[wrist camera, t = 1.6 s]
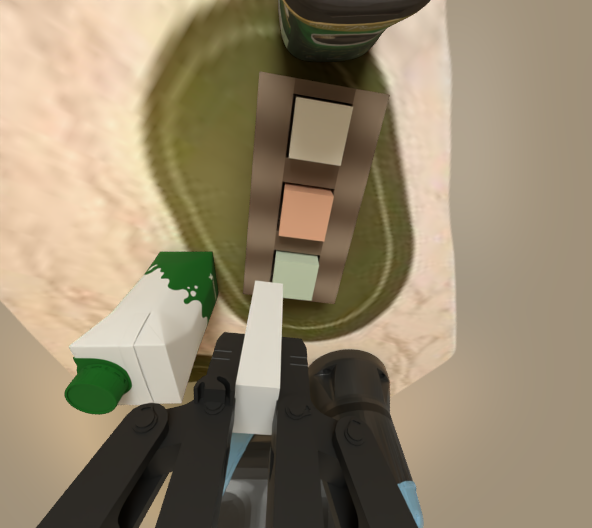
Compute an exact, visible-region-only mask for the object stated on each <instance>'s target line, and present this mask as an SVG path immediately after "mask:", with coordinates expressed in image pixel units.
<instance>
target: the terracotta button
mask: <svg viewBox="0 0 592 528" xmlns="http://www.w3.org/2000/svg"><path fill="white" fill-rule="evenodd" d="M333 199H334V196H333V194H332V192H331V190H330V188H324V187H317V186H310V185H303V184H296V183H289V182H285V186H284V193H283V201H282V209H281V217H280V225H279V236H285V237H292V238H300V239H308V240H316V241H323V242H324V240H325V236H326V231H327V227H328V222H329V217H330V213H331V208H332V203H333Z"/></svg>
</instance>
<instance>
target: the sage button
mask: <svg viewBox="0 0 592 528" xmlns="http://www.w3.org/2000/svg"><path fill="white" fill-rule="evenodd" d="M318 268H319V262H318V257H317V255H313V254H305V253H297V252H289V251H281V250H276V255H275V263H274V271H273V279H272V283H281V284H283V298H290V299H299V300H309V301H312V296H313V291H314V287H315V282H316V278H317V273H318Z"/></svg>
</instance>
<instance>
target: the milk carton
mask: <svg viewBox="0 0 592 528" xmlns="http://www.w3.org/2000/svg"><path fill="white" fill-rule="evenodd" d="M217 296H218V286H217V280H216V273H215V266H214V260H213V253H212V252H160V253H159V254H158V256H157V257H156V259H155V260H154V262H153V263H152V264H151V266H150V267H149V269H148V270H147V272H146V273H145V274H144V275H143V276H142V278H141V279H140V280H139V281H138V282H137V283H136V284H135V286H134V287H133V288H132V289H131V290H130V291H129V293H128V294H127V295H126V296H125V297H124V298H123V300H122V301H121V302H120V303H119V304H118V305H117V306H116V308H115V309H114V310H113V311H112V312H111V313H110V314H109V315H108V316H107V317H105V318H104V319H103V320H101V321H100V322H99V323H98V324H96V325H95V326H94V327H93V328H91V329H90V330H89V331H87V332H86V333H85V334H84V335H82V336H81V337H80V338H78V339H77V340H76V341H74V342H73V343H72V344H71V345H69V348H70V350H71V352H72V354H73V355H74V357H73V359H74V361H75V363H76V365H77V375H76V376H75V378H74V379H73V380H72V382H71V383H70V384H69V385H68V387H67V388H66V390H65V398H66V400H67V402H68V403H69V404H70V405H71V406H73V407H74V408H76V409H78V410H80V411H82V412H85V413H89V414H106V413H109V412H111V411H113V410H114V409H115V407H116V406H117V405H142V404H147V403H158V404H161V403H182V400H183V397H184V393H185V390H186V387H187V383H188V380H189V377H190V374H191V370H192V367H193V364H194V361H195V358H196V355H197V352H198V349H199V346H200V344H201V341H202V338H203V336H204V333H205V330H206V327H207V325H208V322H209V319H210V317H211V314H212V311H213V308H214V306H215V303H216V300H217Z"/></svg>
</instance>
